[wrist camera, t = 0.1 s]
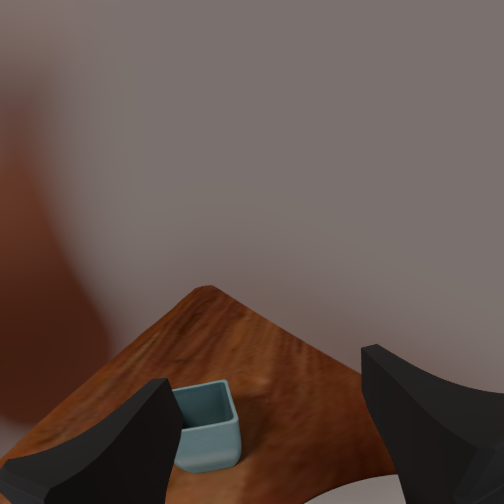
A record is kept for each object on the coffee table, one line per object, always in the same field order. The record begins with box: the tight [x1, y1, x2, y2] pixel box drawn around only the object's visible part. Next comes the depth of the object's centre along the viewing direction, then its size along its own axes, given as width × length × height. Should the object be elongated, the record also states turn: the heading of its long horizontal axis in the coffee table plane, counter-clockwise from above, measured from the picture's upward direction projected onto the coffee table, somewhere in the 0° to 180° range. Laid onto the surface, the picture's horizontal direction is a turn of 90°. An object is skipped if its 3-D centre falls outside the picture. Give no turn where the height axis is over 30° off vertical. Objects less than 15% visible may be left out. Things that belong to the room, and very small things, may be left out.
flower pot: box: [172, 380, 242, 473], centre depth 30 cm, size 9×9×9 cm
